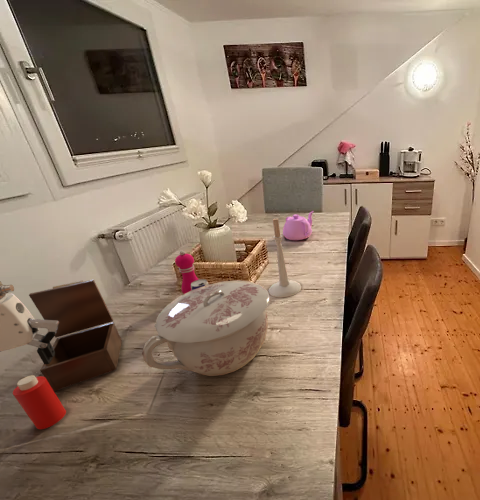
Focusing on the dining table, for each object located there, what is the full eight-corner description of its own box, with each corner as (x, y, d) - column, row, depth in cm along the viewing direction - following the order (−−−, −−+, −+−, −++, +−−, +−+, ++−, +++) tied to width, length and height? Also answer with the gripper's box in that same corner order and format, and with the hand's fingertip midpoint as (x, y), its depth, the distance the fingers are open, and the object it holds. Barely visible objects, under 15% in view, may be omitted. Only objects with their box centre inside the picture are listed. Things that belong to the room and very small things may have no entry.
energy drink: (204, 318, 96) (196, 288, 92) (195, 313, 99) (186, 284, 94) (218, 310, 101) (210, 281, 96) (209, 306, 103) (201, 277, 99)
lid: (93, 280, 76) (95, 272, 80) (28, 295, 70) (34, 285, 74) (112, 321, 83) (114, 312, 86) (55, 337, 77) (59, 327, 80)
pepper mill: (209, 295, 110) (196, 249, 102) (191, 304, 104) (176, 256, 97) (198, 291, 114) (186, 245, 106) (180, 299, 108) (166, 252, 100)
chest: (117, 371, 76) (106, 349, 73) (54, 394, 70) (39, 370, 66) (122, 342, 86) (113, 321, 83) (68, 359, 80) (56, 338, 77)
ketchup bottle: (32, 434, 60) (1, 392, 55) (46, 414, 64) (20, 374, 59) (59, 427, 61) (32, 386, 56) (72, 408, 66) (47, 368, 61)
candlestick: (299, 279, 120) (291, 211, 108) (303, 295, 108) (294, 220, 97) (268, 284, 117) (257, 215, 105) (269, 300, 105) (256, 224, 94)
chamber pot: (278, 318, 95) (269, 263, 87) (276, 383, 70) (264, 315, 62) (189, 332, 90) (171, 275, 82) (153, 407, 65) (122, 336, 57)
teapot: (326, 235, 170) (325, 213, 165) (297, 245, 156) (295, 221, 151) (304, 227, 184) (302, 207, 179) (275, 236, 170) (272, 214, 165)
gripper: (45, 277, 57) (77, 343, 64) (-92, 303, 49) (-38, 375, 56) (32, 293, 51) (69, 364, 58) (-126, 326, 43) (-61, 404, 50)
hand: (17, 369), depth 57 cm, fingers open, 9 cm apart
